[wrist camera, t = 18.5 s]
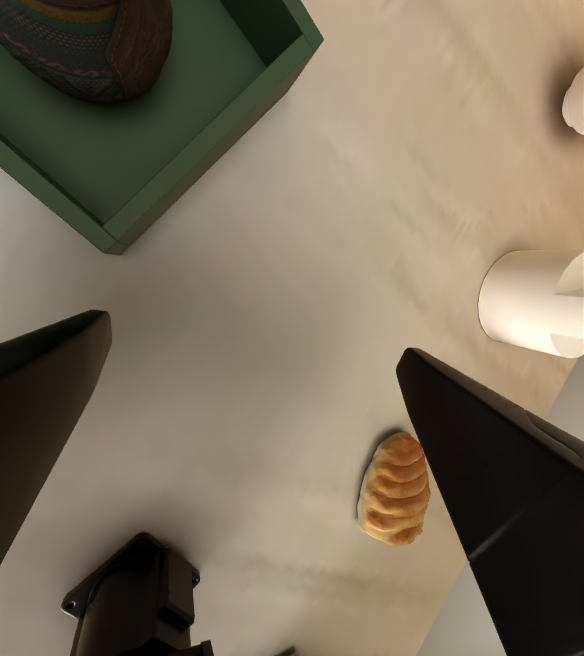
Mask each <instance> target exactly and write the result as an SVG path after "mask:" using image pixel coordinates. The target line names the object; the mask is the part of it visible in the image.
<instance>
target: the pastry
mask: <svg viewBox="0 0 584 656" xmlns="http://www.w3.org/2000/svg"><path fill="white" fill-rule="evenodd" d="M426 469H427V467H426V462H425V455H424V454H423V450H422V446H421V445H420V444H419V442H417V441H416V440H415V439H414V438H413V437H411V435H410V434H409V433H407V432H400V433H396V434H394V435H392V436H390V437H388V438H387V439H385V440H384V441H383V442H382V443H381V444H380V445H379V446H377V451H376V452H375V453H374V454H373V460H372V461H371V463H370V465H369V466H368V467H367V469H366V472H365V474H364V479H363V482H362V486H361V491H360V500H359V501H358V505H357V510H358V520H359V526H360V529H361V530H362V531H363V532H364V533H366V534H369V535H371V536H372V537H373V538H375V539H378V540H382V541H384V542H385V543H386V544H388V545H391V546H402V545H407V544H410V543H412V542H413V541H414V539H415V537H416V536H418V535H420V534H421V533H422V526H423V518H424V514H425V511H426V509H427V506H428V501H429V498H430V489H429V481H428V472H427V470H426Z"/></svg>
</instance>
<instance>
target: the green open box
mask: <svg viewBox="0 0 584 656" xmlns="http://www.w3.org/2000/svg"><path fill="white" fill-rule="evenodd" d="M171 5H172V11H173V18H172V23H173V31H172V42H171V49H170V52H169V56H168V58H167V60H166V61H165V63H164V65H163V67H162V71H161V73H160V75H159V77H158V79H157V81H156V83H155V84H154V86H153V87H152V88H151V89H150V90H149V91H148V92H147V93H145V94H143V95H141V96H140V97H137V98H136V99H133V100H131V101H128V102H124V103H119V104H107V105H104V104H97V103H96V104H95V103H91V102H86V101H82V100H77V99H75V98H73V97H70V96H68V95H67V94H64V93H62V92H61V91H60V90H57V89H56V88H54V87H53V86H52V85H50V84H48V83H47V82H45V81H42V79H41V78H40V77H38V76H36V75H35V74H34V73H32V72H31V71H30V70H28V69H27V68H26V67H25V66H24V65H22V64H21V63H20V62H19V61H18V60H16V59H14V57H13V56H11V55H10V53H9V52H8V51H7V50H6V49H5V48H4V47H3V46H2V45H1V44H0V168H2V169H3V170H4V171H5V172H6V173H8V174H9V175H10V176H11V177H12V178H14V179H15V180H16V181H17V182H18V183H20V184H21V185H22V186H23V187H24V188H26V189H27V190H28V191H29V192H30V193H32V194H33V195H34V196H35V197H36V198H38V199H39V200H40V201H41V202H42V203H44V204H45V205H46V206H47V207H48V208H50V209H51V210H52V211H53V212H54V213H56V214H57V215H58V216H59V217H61V218H62V219H63V220H64V221H65V222H67V223H68V224H69V225H70V226H71V227H73V228H74V229H75V230H76V231H77V232H79V233H80V234H81V235H82V236H83V237H85V238H86V239H87V240H88V241H89V242H91V243H92V244H93V245H94V246H95V247H97V248H98V249H99V250H100V251H101V252H103V253H104V254H112V255H122V254H123V253H124V252H125V251H126V250H127V249H128V248H129V247H130V246H131V245H132V244H133V243H134V242H135V241H136V240H137V239H138V238H139V237H140V236H141V235H142V234H143V233H144V232H145V231H146V230H147V229H148V228H149V227H150V226H151V225H152V224H153V223H154V222H155V221H156V220H157V219H159V218H160V217H161V216H162V215H163V214H164V213H165V212H166V211H167V210H168V209H169V208H170V207H171V206H172V205H173V204H174V203H175V202H176V201H177V200H178V199H179V198H180V197H181V196H182V195H183V194H184V193H185V192H186V191H187V190H188V189H189V188H190V187H191V186H192V185H193V184H194V183H195V182H196V181H197V180H198V179H199V178H200V177H201V176H202V175H203V174H204V173H205V172H206V171H207V170H208V169H209V168H210V167H211V166H212V165H213V164H214V163H215V162H216V161H217V160H219V159H220V158H221V157H222V156H223V155H224V154H225V153H226V152H227V151H228V150H229V149H230V148H231V147H232V146H233V145H234V144H235V143H236V142H237V141H238V140H239V139H240V138H241V137H242V136H243V135H244V134H245V133H246V132H247V131H248V130H249V129H250V128H251V127H252V126H253V125H254V124H255V123H256V122H257V121H258V120H259V119H260V118H261V117H262V116H263V115H264V114H265V113H266V112H267V111H268V110H269V109H270V108H271V107H272V106H273V105H274V104H275V103H276V102H277V101H278V100H280V99H281V98H282V97H283V96H284V95H285V94H286V93H287V92H288V91H289V89H290V88H291V86H292V85H293V83H294V82H295V81H296V79H297V78H298V76H299V75H300V73H301V72H302V70H303V69H304V68H305V66H306V65H307V63H308V62H309V60H310V59H311V58H312V56H313V55H314V53H315V52H316V50H317V49H318V48H319V46H320V45H321V43H322V42H323V40H324V38H323V37H322V35H321V33H320V32H319V30H318V28H317V27H316V25H315V23H314V22H313V20H312V19H311V17H310V15H309V14H308V12H307V10H306V9H305V7H304V5H303V4H302V2H301V0H171Z"/></svg>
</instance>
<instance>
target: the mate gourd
mask: <svg viewBox="0 0 584 656" xmlns="http://www.w3.org/2000/svg"><path fill="white" fill-rule="evenodd" d="M172 18H173V11H172V5H171V0H0V44H1V45H2V46H3V47H4V48H5V49H6V50H7V51H8V52H9V53H10V55H11V56H13V57H14V59H16V60H18V61H19V62H20V63H21V64H22V65H24V66H25V67H26V68H27V69H28V70H30V71H31V72H32V73H34V74H35V75H36V76H38V77H40V78H41V79H42V81H45V82H47V83H48V84H50V85H52V86H53V87H54V88H56V89H57V90H60V91H61V92H62V93H64V94H67V95H68V96H70V97H73V98H75V99H77V100H82V101H86V102H91V103H95V104H96V103H97V104H104V105H107V104H119V103H124V102H128V101H131V100H133V99H136V98H137V97H140V96H141V95H143V94H145V93H147V92H148V91H149V90H150V89H151V88H152V87H153V86H154V84H155V83H156V81H157V79H158V77H159V75H160V73H161V71H162V67H163V65H164V63H165V61H166V60H167V58H168V56H169V52H170V49H171V42H172V31H173V23H172Z"/></svg>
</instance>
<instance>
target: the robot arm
mask: <svg viewBox="0 0 584 656" xmlns="http://www.w3.org/2000/svg"><path fill="white" fill-rule="evenodd" d="M111 343H112V329H111V317H110V314H109V312H107V311H101V310H89V311H86V312H83V313H81V314H78V315H75V316H73V317H70V318H67V319H65V320H62V321H59V322H56V323H54V324H51V325H48V326H46V327H43V328H40V329H38V330H35V331H32V332H30V333H27V334H24V335H21V336H19V337H16V338H13V339H11V340H8V341H5V342H3V343H0V565H1V563H2V561H3V559H4V557H5V555H6V553H7V552H8V550H9V548H10V546H11V544H12V542H13V540H14V539H15V537H16V535H17V533H18V531H19V529H20V527H21V526H22V524H23V522H24V520H25V518H26V516H27V514H28V513H29V511H30V509H31V507H32V505H33V503H34V502H35V500H36V498H37V496H38V494H39V492H40V490H41V489H42V487H43V485H44V483H45V481H46V479H47V477H48V476H49V474H50V472H51V470H52V468H53V466H54V464H55V463H56V461H57V459H58V457H59V455H60V453H61V451H62V450H63V448H64V446H65V444H66V442H67V440H68V438H69V437H70V435H71V433H72V431H73V429H74V427H75V425H76V424H77V422H78V420H79V418H80V416H81V414H82V412H83V411H84V409H85V407H86V405H87V403H88V401H89V399H90V397H91V395H92V393H93V391H94V389H95V386H96V384H97V381H98V379H99V376H100V373H101V371H102V368H103V365H104V363H105V360H106V358H107V355H108V352H109V350H110V347H111ZM396 375H397V378H398V382H399V385H400V388H401V392H402V395H403V399H404V402H405V405H406V408H407V412H408V414H409V417H410V420H411V422H412V425H413V427H414V429H415V432H416V434H417V437H418V439H419V442H420V444H421V446H422V449H423V451H424V454H425V456H426V459H427V461H428V464H429V466H430V468H431V471H432V473H433V476H434V478H435V481H436V483H437V486H438V488H439V490H440V493H441V495H442V498H443V500H444V503H445V505H446V507H447V510H448V512H449V515H450V517H451V520H452V522H453V525H454V527H455V529H456V532H457V534H458V537H459V539H460V542H461V544H462V547H463V549H464V551H465V554H466V556H467V559H468V561H469V562H470V567H471V569H472V571H473V574H474V576H475V579H476V581H477V584H478V586H479V589H480V591H481V594H482V596H483V598H484V601H485V603H486V606H487V608H488V610H489V613H490V615H491V618H492V620H493V623H494V625H495V628H496V630H497V633H498V635H499V638H500V640H501V642H502V644H503V647H504V650H505V652H506V655H507V656H584V442H583V441H582V440H580V439H578V438H576V437H574V436H572V435H570V434H568V433H567V432H565V431H563V430H561V429H559V428H558V427H556V426H554V425H552V424H550V423H549V422H547V421H545V420H543V419H542V418H540V417H538V416H536V415H534V414H533V413H531V412H529V411H528V410H524V408H522V407H520V406H519V405H517V404H515V403H513V402H512V401H510V400H508V399H506V398H505V397H503V396H501V395H500V394H498V393H496V392H494V391H493V390H491V389H489V388H487V387H486V386H484V385H482V384H480V383H479V382H477V381H475V380H473V379H472V378H470V377H468V376H466V375H465V374H463V373H461V372H459V371H458V370H456V369H454V368H452V367H451V366H449V365H447V364H445V363H444V362H442V361H440V360H439V359H437V358H435V357H433V356H432V355H430V354H428V353H426V352H425V351H423V350H421V349H418V348H407V349H406V350H405V351H404V353H403V355H402V357H401V359H400V361H399V363H398V365H397V367H396ZM140 541H144V542H141V543H140ZM193 578H194V579H193ZM199 582H200V573H199V572H198V571H197V570H196V569H194V568H193V567H192V566H191V564H190V563H189V562H188V561H186V560H185V559H184V558H182V557H181V556H180V555H178V554H177V553H176V552H174V551H173V550H172V549H170V548H167V547H165V546H164V545H162V544H161V543H160V542H158V541H157V540H156V539H154V538H153V537H151V536H150V535H149V534H147V533H141V534H139V535H137V536H136V537H135V538H134V539H132V540H131V541H130V542H129V543H128V544H126V545H125V546H124V547H123V548H122V549H121V550H119V551H118V552H117V553H116V554H115V555H114V556H112V557H111V558H110V559H109V560H108V561H107V562H105V563H104V564H103V565H102V566H101V567H99V568H98V569H97V570H96V571H95V572H94V573H92V574H91V575H90V576H89V577H88V578H87V579H85V580H84V581H83V582H82V583H81V584H80V585H78V586H77V587H76V588H75V589H74V590H73V591H71V592H70V593H69V594H68V595H67V596H66V597H65V598H64V599H63V602H62V605H61V610H62V611H63V612H65V613H67V614H69V615H70V616H72V617H74V618H76V619H78V620H79V621H78V625H77V629H76V633H75V637H74V641H73V645H72V649H71V653H70V656H214V655H213V650H212V645H211V641H210V640H207V641H203V642H201V644H200V645H196V646H192V647H191V640H190V626H191V625H192V624H193V623H194V618H195V615H194V601H193V588H194V587H195V586H196V585H197V584H198V583H199ZM70 602H73V603H70Z"/></svg>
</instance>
